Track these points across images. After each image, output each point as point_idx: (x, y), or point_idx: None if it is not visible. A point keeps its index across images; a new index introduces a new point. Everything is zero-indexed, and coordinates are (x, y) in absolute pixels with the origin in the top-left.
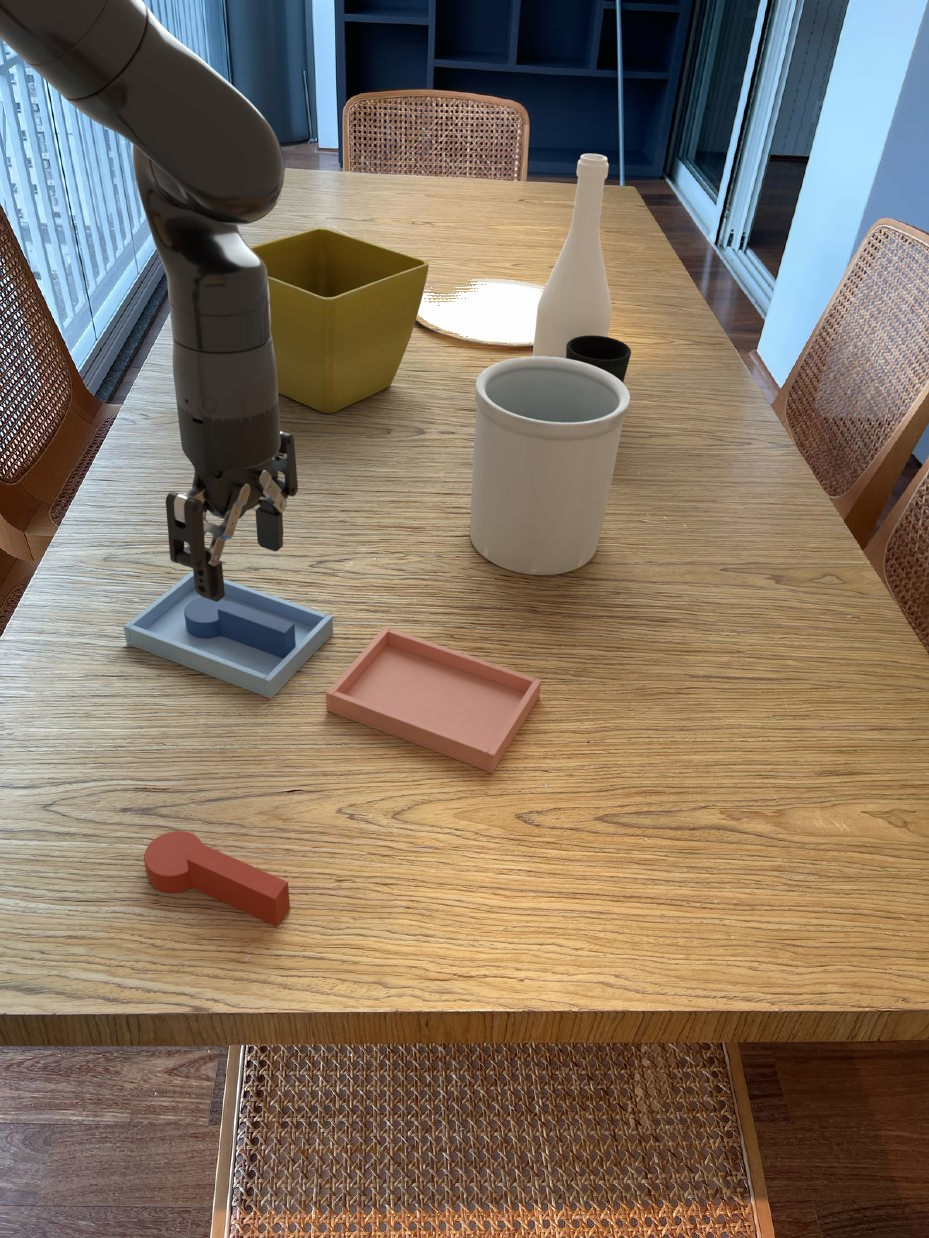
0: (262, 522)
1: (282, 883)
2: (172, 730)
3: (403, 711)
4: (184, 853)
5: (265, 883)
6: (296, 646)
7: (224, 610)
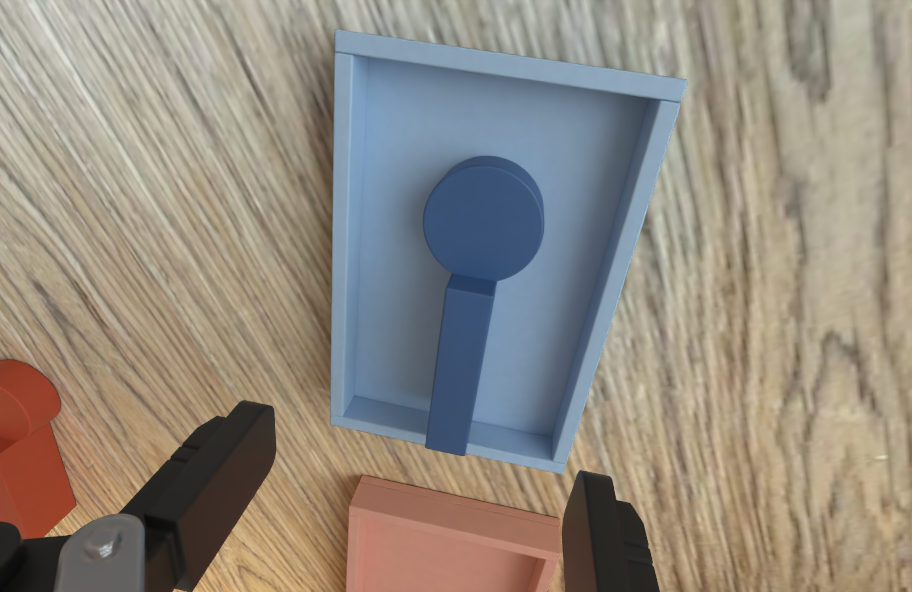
0: (585, 581)
1: None
2: (198, 277)
3: (398, 567)
4: (2, 422)
5: None
6: None
7: (448, 306)
